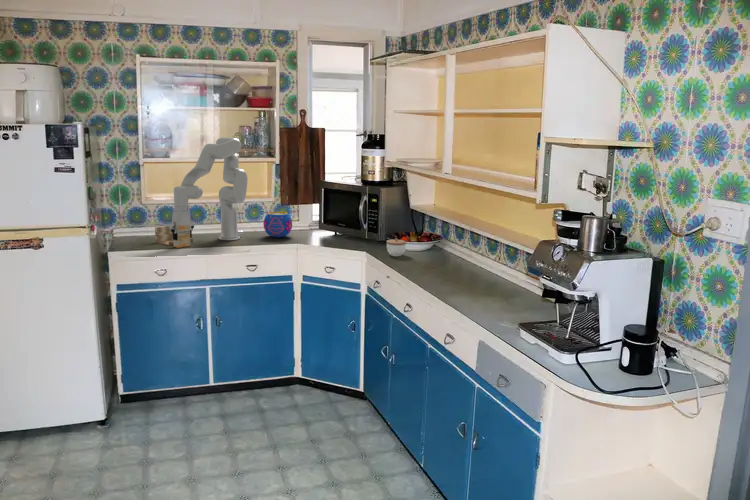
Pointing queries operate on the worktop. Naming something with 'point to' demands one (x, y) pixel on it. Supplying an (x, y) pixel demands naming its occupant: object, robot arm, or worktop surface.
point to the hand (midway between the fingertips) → (182, 238)
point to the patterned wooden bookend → (165, 236)
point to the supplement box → (182, 236)
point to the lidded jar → (396, 247)
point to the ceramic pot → (277, 224)
